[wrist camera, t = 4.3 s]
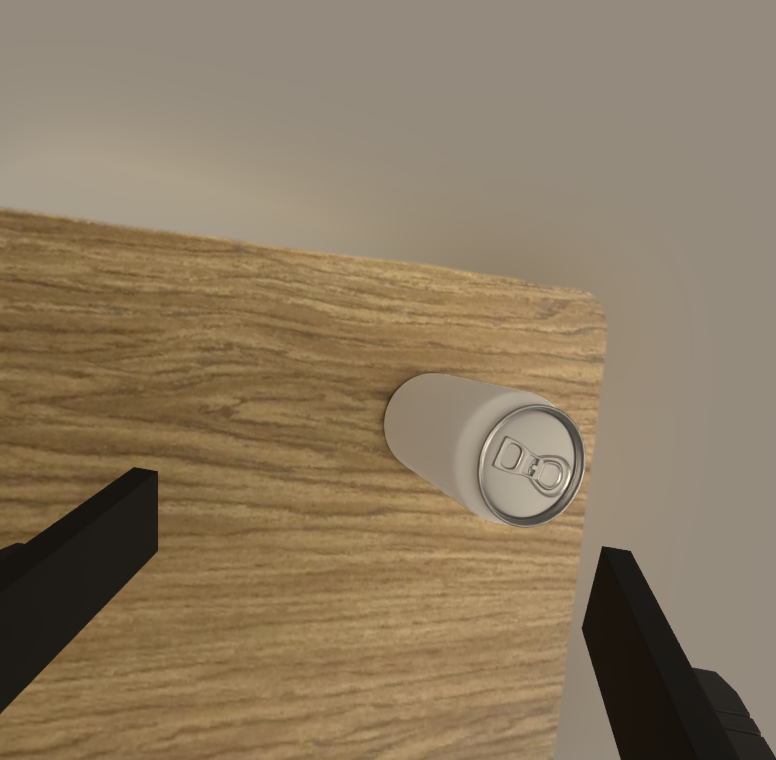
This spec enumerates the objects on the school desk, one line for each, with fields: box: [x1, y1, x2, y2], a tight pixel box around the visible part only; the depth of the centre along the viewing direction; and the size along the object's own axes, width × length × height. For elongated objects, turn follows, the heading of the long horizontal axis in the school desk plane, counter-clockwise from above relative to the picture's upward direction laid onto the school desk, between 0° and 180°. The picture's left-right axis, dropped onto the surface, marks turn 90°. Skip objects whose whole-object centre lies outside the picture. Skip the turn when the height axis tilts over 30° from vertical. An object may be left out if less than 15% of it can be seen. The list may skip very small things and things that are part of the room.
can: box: [384, 373, 586, 528], centre depth 30 cm, size 6×6×12 cm
